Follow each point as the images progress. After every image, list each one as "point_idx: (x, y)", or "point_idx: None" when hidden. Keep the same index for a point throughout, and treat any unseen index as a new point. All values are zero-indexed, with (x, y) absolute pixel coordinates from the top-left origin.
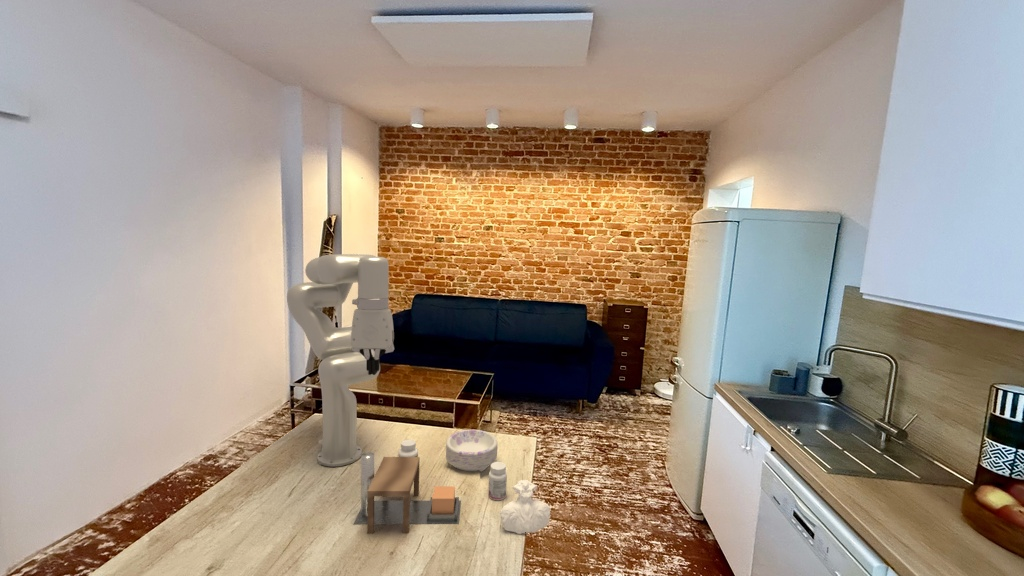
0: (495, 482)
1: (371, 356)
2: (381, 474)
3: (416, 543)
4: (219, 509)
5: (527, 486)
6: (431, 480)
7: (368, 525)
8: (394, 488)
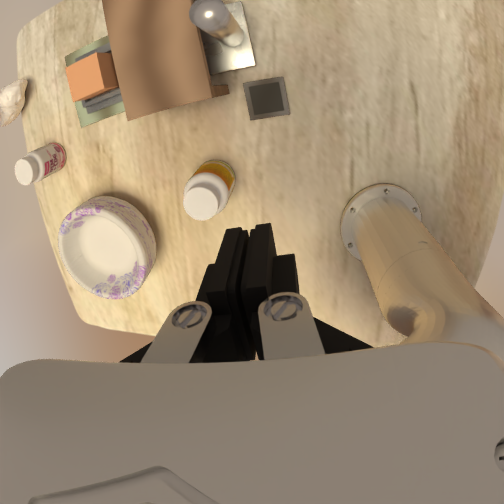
0: (35, 150)
1: (256, 341)
2: (180, 23)
3: None
4: (485, 52)
5: None
6: (164, 170)
7: None
8: None
